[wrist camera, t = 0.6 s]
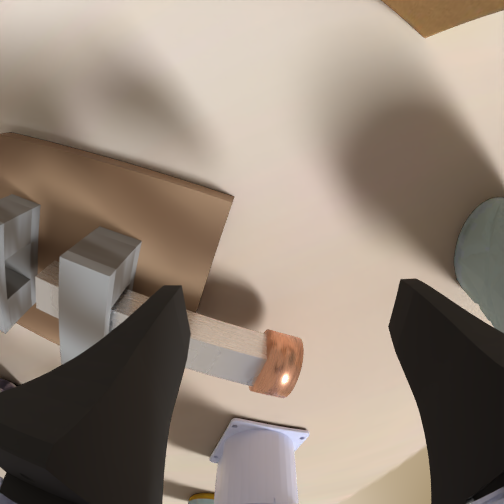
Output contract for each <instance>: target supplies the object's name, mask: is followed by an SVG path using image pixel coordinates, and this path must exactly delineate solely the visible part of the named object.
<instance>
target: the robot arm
mask: <svg viewBox="0 0 504 504" xmlns="http://www.w3.org/2000/svg"><path fill="white" fill-rule="evenodd" d="M388 327H389V331H390V334H391V338H392V342H393V345H394V349H395V352H396V354H397V357H398V359H399V361H400V364H401V366H402V368H403V371H404V373H405V376H406V378H407V380H408V383H409V385H410V388H411V390H412V392H413V395H414V397H415V400H416V403H417V406H418V409H419V412H420V416H421V420H422V424H423V429H424V433H425V438H426V444H427V450H428V456H429V465H430V475H431V501H432V503H431V504H504V333H503V332H501V331H499V330H497V329H495V328H493V327H492V326H490V325H488V324H487V323H485V322H483V321H482V320H480V319H479V318H477V317H475V316H474V315H472V314H471V313H469V312H468V311H466V310H464V309H463V308H461V307H460V306H458V305H457V304H455V303H454V302H453V301H451V300H450V299H448V298H447V297H445V296H444V295H442V294H441V293H439V292H438V291H436V290H435V289H433V288H432V287H430V286H428V285H427V284H425V283H423V282H422V281H420V280H418V279H401V280H400V284H399V288H398V292H397V296H396V300H395V304H394V308H393V312H392V315H391V319H390V323H389V326H388ZM190 336H191V332H190V327H189V322H188V317H187V311H186V306H185V300H184V295H183V289H182V285H164V286H162V287H161V288H160V289H159V290H158V291H156V292H155V293H154V294H153V295H152V296H151V297H150V298H149V299H148V300H147V301H146V302H144V303H143V304H142V305H141V306H140V307H139V308H138V309H137V310H136V311H134V312H133V313H132V314H131V315H130V316H129V317H128V318H127V319H126V320H124V321H123V322H122V323H121V324H119V325H118V326H117V327H116V328H115V329H113V330H112V331H111V332H110V333H109V334H107V335H106V336H105V337H104V338H102V339H101V340H100V341H98V342H97V343H96V344H94V345H93V346H91V347H90V348H88V349H87V350H85V351H84V352H83V353H81V354H80V355H78V356H76V357H75V358H73V359H71V360H70V361H68V362H66V363H64V364H63V365H61V366H59V367H57V368H56V369H54V370H52V371H50V372H48V373H46V374H44V375H42V376H40V377H38V378H36V379H34V380H31V381H29V382H27V383H24V384H22V385H19V386H17V387H14V388H11V389H8V390H5V391H2V392H0V467H1V468H2V469H3V470H5V471H6V475H5V477H4V479H3V478H1V477H0V504H162V497H163V479H164V467H165V457H166V448H167V441H168V433H169V426H170V421H171V417H172V412H173V409H174V405H175V401H176V398H177V394H178V391H179V387H180V383H181V380H182V376H183V373H184V369H185V365H186V362H187V357H188V350H189V343H190ZM308 436H309V431H306V430H300V429H293V428H287V427H281V426H275V425H270V424H264V423H259V422H254V421H250V420H245V419H240V418H233V419H232V420H231V422H230V423H229V425H228V427H227V429H226V430H225V432H224V434H223V436H222V437H221V439H220V441H219V443H218V444H217V446H216V448H215V449H214V451H213V453H212V454H211V456H210V461H211V462H214V463H218V465H217V475H216V485H215V495H214V504H299V503H298V490H297V478H296V465H295V454H294V452H295V451H296V449H297V448H298V447H299V446H300V445H301V444H302V443H303V442H304V441H305V440H306V438H307V437H308Z"/></svg>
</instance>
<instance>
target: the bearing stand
mask: <svg viewBox="0 0 504 504" xmlns="http://www.w3.org/2000/svg"><path fill="white" fill-rule="evenodd" d="M233 199H234V197H233V196H231V195H228V194H225V193H222V192H219V191H216V190H212V189H209V188H206V187H203V186H200V185H197V184H194V183H191V182H188V181H185V180H181V179H178V178H175V177H172V176H169V175H165V174H162V173H159V172H156V171H152V170H149V169H146V168H142V167H139V166H136V165H132V164H129V163H126V162H122V161H119V160H115V159H112V158H108V157H105V156H101V155H98V154H94V153H90V152H87V151H83V150H79V149H76V148H72V147H68V146H64V145H60V144H57V143H53V142H49V141H45V140H41V139H37V138H33V137H29V136H25V135H20V134H16V133H12V132H9V133H2V134H0V331H2V332H3V333H5V334H6V333H7V332H8V330H9V329H10V328H11V327H12V326H13V325H14V324H15V323H17V324H19V325H21V326H23V327H25V328H26V329H28V330H30V331H32V332H34V333H36V334H38V335H40V336H42V337H44V338H46V339H47V340H49V341H51V342H54V343H56V344H58V345H60V353H61V364H64V363H66V362H68V361H70V360H71V359H73V358H75V357H76V356H78V355H80V354H81V353H83V352H84V351H85V350H87V349H88V348H90V347H91V346H93V345H94V344H96V343H97V342H98V341H100V340H101V339H102V338H104V337H105V336H106V335H107V334H109V323H110V314H111V308H112V307H113V305H114V304H115V302H116V301H117V300H118V298H119V297H120V295H121V294H122V293H123V291H124V290H125V289H128V290H131V291H134V292H136V293H139V294H142V295H145V296H147V297H151V296H152V295H153V294H154V293H155V292H156V291H158V290H159V289H160V288H161V287H162V286H164V285H182V289H183V295H184V300H185V306H186V310H188V311H191V312H194V313H196V311H197V308H198V305H199V302H200V299H201V296H202V292H203V289H204V286H205V283H206V280H207V277H208V274H209V271H210V268H211V265H212V262H213V259H214V256H215V252H216V249H217V246H218V243H219V240H220V237H221V235H222V232H223V229H224V226H225V223H226V220H227V217H228V214H229V211H230V208H231V205H232V202H233ZM54 261H58V262H59V293H58V305H59V319H58V318H56V317H54V316H52V315H50V314H48V313H46V312H43V311H41V310H39V309H37V308H36V286H35V276H37V275H38V274H39V273H40V272H41V271H43V270H44V269H45V268H46V267H47V266H49V265H50V264H51V263H52V262H54Z"/></svg>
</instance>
